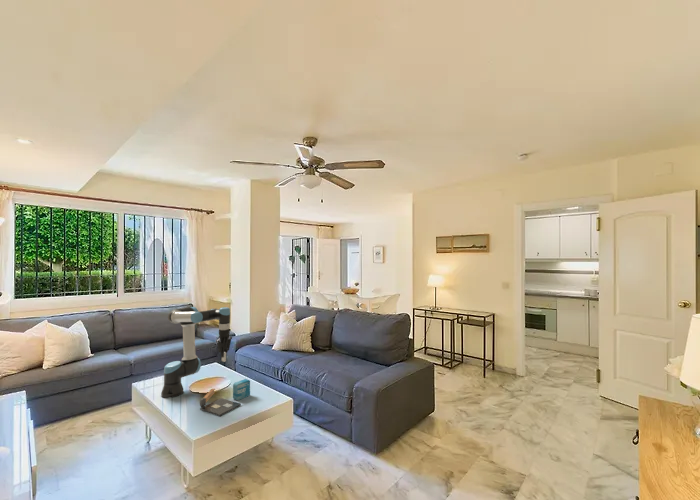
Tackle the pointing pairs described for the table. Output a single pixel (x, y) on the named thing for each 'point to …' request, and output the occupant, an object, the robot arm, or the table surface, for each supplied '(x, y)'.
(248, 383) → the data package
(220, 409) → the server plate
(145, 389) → the table surface
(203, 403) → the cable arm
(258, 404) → the table surface
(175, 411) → the table surface
